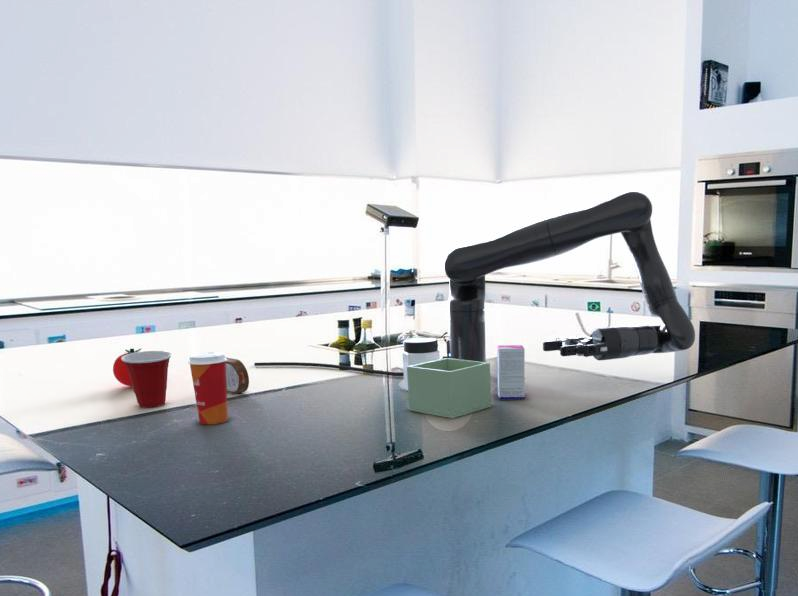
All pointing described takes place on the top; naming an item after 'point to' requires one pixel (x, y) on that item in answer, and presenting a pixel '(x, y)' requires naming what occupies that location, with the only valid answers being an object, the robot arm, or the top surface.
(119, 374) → the tomato
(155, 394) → the plastic cup
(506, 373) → the supplement box
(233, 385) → the tin
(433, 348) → the jar
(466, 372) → the mint green storage bin
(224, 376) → the paper cup
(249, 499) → the top surface
